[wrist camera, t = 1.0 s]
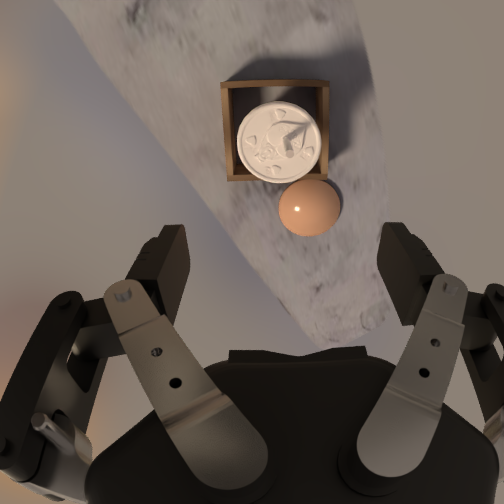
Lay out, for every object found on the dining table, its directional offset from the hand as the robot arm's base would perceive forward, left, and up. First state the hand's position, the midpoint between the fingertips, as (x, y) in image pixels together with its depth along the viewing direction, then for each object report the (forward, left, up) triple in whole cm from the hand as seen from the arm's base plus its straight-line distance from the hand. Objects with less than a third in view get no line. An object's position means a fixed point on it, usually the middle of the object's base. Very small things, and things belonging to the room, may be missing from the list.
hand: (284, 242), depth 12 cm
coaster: (+8, +4, -22) cm, 24 cm away
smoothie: (-1, 0, -22) cm, 22 cm away
